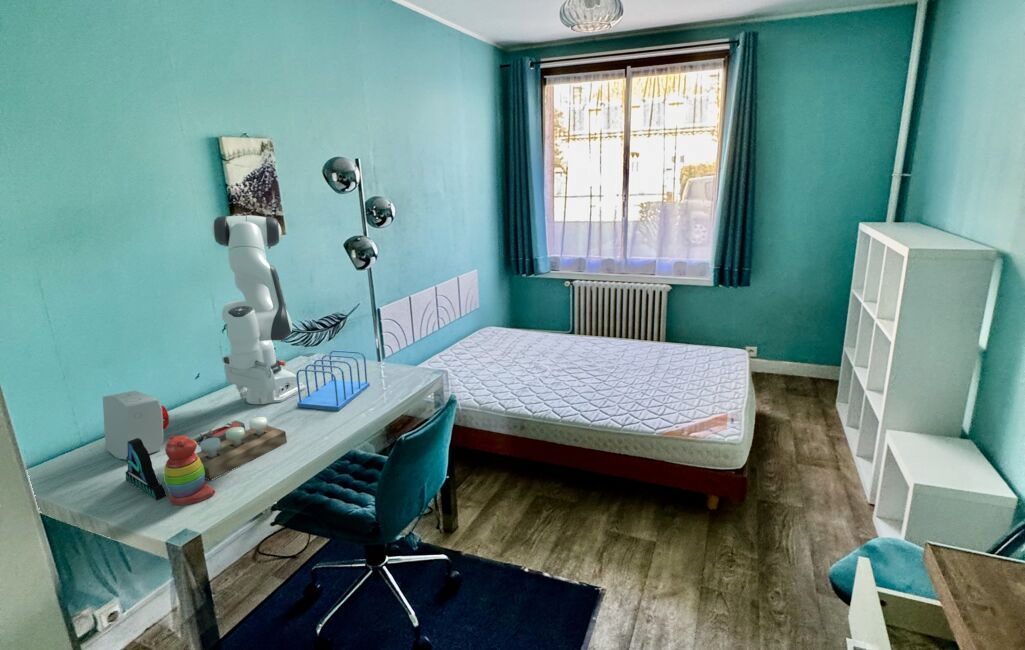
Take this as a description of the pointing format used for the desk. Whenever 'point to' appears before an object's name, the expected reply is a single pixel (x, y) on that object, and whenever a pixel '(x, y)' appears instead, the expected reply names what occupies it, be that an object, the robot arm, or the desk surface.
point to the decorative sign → (142, 470)
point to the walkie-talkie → (219, 431)
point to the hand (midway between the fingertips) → (253, 400)
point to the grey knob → (210, 447)
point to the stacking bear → (185, 472)
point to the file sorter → (332, 386)
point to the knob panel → (241, 451)
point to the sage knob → (235, 435)
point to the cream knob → (258, 425)
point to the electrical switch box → (133, 422)
